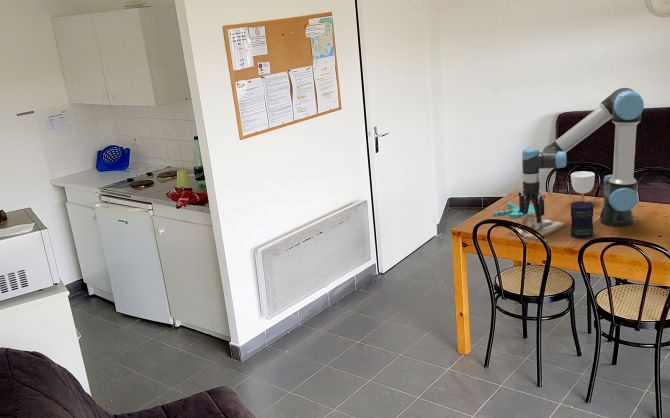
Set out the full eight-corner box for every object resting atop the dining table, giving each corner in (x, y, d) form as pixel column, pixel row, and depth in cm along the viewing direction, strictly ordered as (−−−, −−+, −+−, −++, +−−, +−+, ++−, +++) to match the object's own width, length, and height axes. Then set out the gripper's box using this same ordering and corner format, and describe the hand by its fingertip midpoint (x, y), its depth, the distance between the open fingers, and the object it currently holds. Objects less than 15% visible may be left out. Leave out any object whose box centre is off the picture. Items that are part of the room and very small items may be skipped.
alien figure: (493, 216, 347) (530, 220, 335) (493, 212, 346) (530, 216, 334) (508, 206, 362) (544, 209, 350) (508, 202, 361) (544, 205, 349)
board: (566, 226, 320) (566, 223, 319) (535, 240, 306) (535, 236, 306) (539, 220, 331) (539, 217, 331) (509, 233, 318) (509, 230, 317)
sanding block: (542, 227, 317) (541, 214, 315) (530, 232, 312) (530, 219, 310) (533, 225, 320) (533, 212, 319) (521, 230, 315) (521, 217, 314)
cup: (571, 202, 355) (570, 171, 350) (594, 202, 351) (594, 171, 346) (570, 208, 345) (570, 177, 340) (594, 208, 340) (595, 176, 336)
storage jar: (592, 239, 299) (592, 207, 295) (569, 238, 303) (569, 207, 299) (593, 232, 308) (593, 201, 304) (571, 231, 312) (571, 201, 308)
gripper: (552, 181, 305) (553, 229, 311) (520, 176, 319) (521, 222, 325) (542, 185, 300) (543, 233, 307) (510, 180, 314) (511, 226, 321)
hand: (532, 227), depth 316 cm, fingers closed on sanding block, 5 cm apart
